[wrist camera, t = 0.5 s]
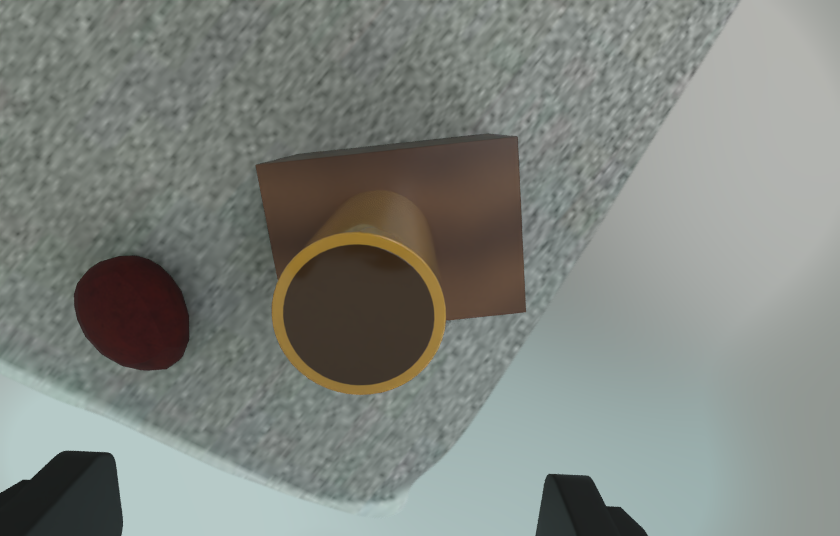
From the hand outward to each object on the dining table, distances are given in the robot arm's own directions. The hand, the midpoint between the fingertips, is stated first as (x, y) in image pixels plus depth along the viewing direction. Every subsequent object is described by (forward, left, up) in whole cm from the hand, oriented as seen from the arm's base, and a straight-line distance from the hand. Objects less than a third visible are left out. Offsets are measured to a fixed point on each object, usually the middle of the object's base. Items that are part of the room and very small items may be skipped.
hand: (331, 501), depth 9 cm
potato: (+5, -19, -29) cm, 35 cm away
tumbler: (0, 0, -19) cm, 19 cm away
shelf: (0, +1, -29) cm, 29 cm away
